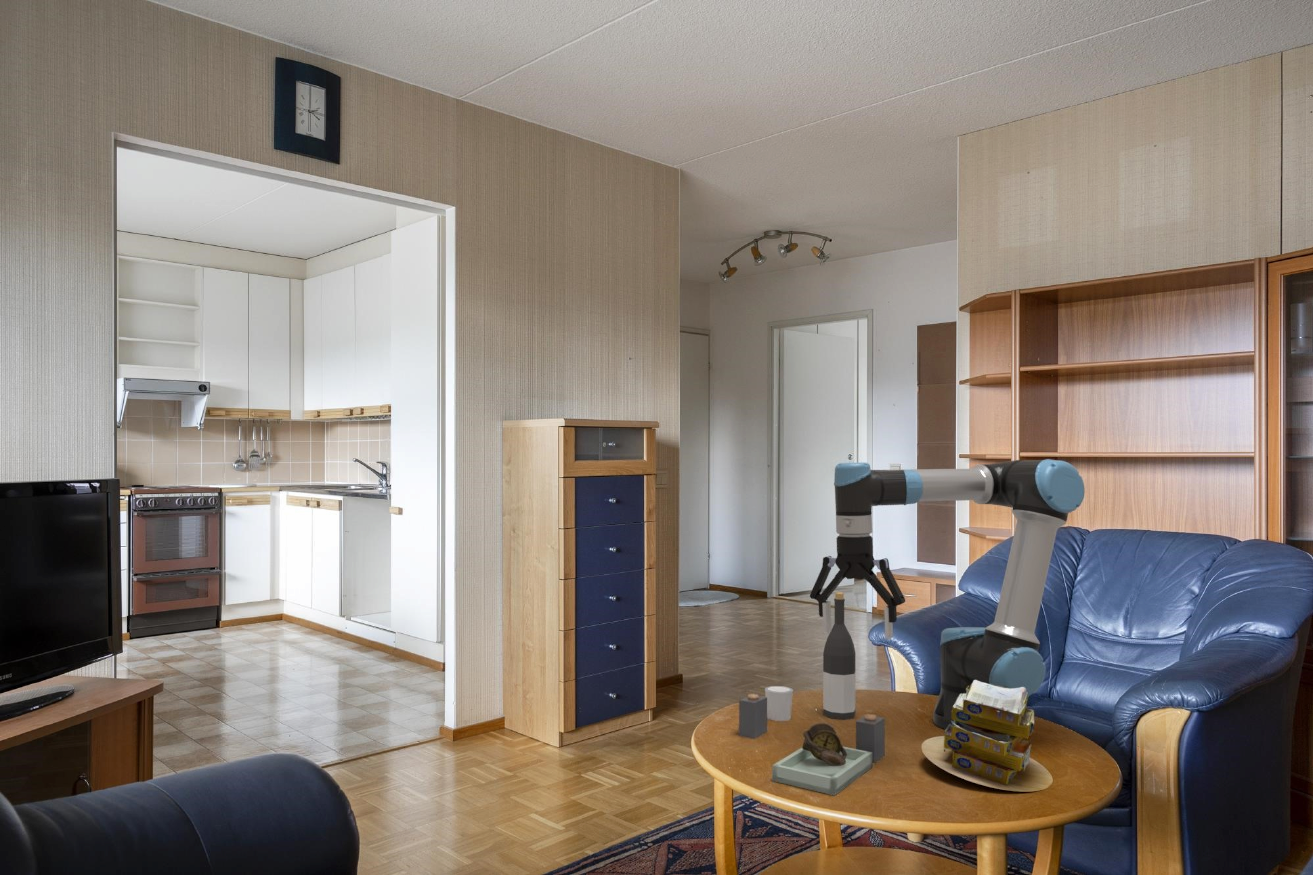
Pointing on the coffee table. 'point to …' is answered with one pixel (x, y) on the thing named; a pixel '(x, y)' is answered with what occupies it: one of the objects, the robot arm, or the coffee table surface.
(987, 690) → the plate of stacked boxes
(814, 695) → the coffee table surface
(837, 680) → the wine bottle
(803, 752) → the sage tray
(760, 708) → the far-side block
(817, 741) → the brown alarm clock
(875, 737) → the block
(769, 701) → the light grey cylinder
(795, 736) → the coffee table surface
